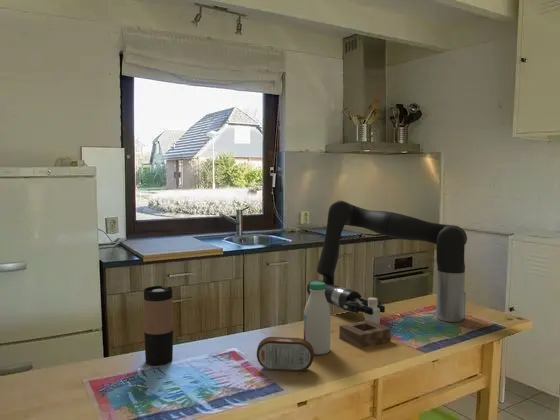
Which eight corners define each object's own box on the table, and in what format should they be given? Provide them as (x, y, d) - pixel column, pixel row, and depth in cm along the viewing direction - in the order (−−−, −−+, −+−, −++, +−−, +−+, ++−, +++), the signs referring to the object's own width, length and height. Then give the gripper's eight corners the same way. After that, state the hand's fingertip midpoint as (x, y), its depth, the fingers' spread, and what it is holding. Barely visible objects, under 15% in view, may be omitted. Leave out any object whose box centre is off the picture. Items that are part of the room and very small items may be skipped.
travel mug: (148, 368, 123) (146, 293, 122) (142, 358, 130) (140, 287, 128) (176, 363, 127) (175, 290, 125) (169, 353, 133) (168, 284, 132)
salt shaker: (364, 326, 159) (364, 298, 158) (370, 323, 162) (370, 296, 161) (374, 328, 156) (374, 300, 155) (380, 326, 159) (381, 298, 158)
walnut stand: (368, 332, 153) (369, 319, 152) (390, 341, 144) (390, 328, 144) (339, 338, 147) (339, 325, 146) (360, 348, 138) (360, 335, 138)
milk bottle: (335, 350, 137) (336, 282, 135) (319, 357, 131) (319, 287, 130) (314, 343, 142) (315, 278, 140) (298, 350, 136) (298, 282, 135)
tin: (313, 368, 124) (314, 337, 123) (313, 373, 121) (313, 341, 120) (257, 366, 125) (257, 335, 125) (255, 371, 122) (255, 339, 121)
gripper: (330, 291, 167) (361, 302, 152) (361, 286, 174) (394, 296, 159) (330, 311, 167) (361, 325, 153) (361, 306, 175) (393, 318, 160)
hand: (377, 310), depth 156 cm, fingers closed on salt shaker, 4 cm apart
